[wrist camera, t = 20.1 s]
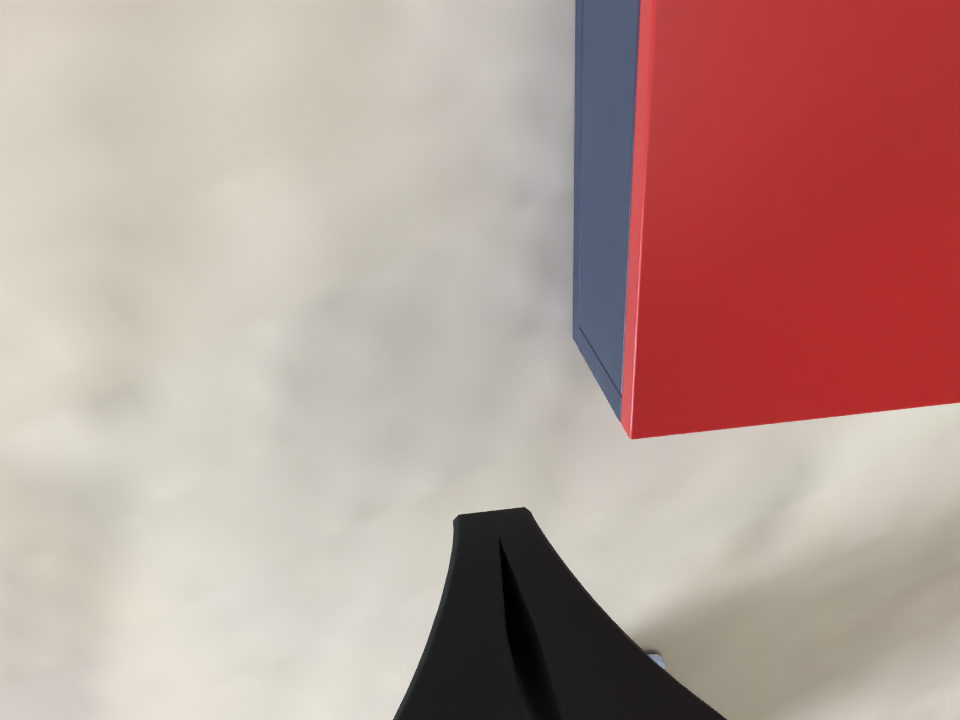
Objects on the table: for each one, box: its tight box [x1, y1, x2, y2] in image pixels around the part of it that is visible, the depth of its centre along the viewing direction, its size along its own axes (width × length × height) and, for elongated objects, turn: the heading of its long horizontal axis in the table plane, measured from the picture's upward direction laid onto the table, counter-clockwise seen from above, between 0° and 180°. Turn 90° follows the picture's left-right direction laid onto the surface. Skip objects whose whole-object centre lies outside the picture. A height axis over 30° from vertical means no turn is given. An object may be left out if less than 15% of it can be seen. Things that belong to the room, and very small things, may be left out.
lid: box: [621, 0, 960, 439], centre depth 16 cm, size 13×12×1 cm
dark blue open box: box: [573, 0, 641, 422], centre depth 18 cm, size 12×12×5 cm
